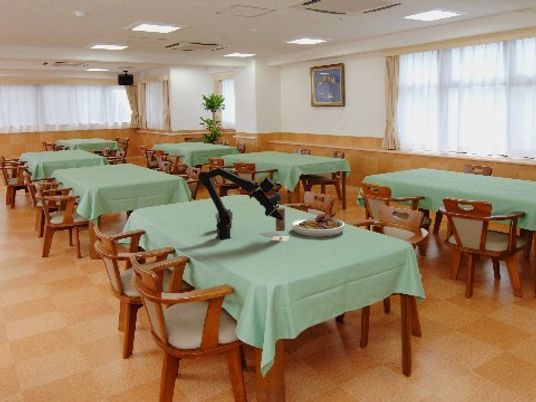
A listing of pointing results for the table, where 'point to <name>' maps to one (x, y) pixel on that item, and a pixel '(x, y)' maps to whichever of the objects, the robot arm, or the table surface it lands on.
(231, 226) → the food container
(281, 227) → the walnut block
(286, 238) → the tile
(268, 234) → the rest mat
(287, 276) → the table surface
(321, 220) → the bowl
